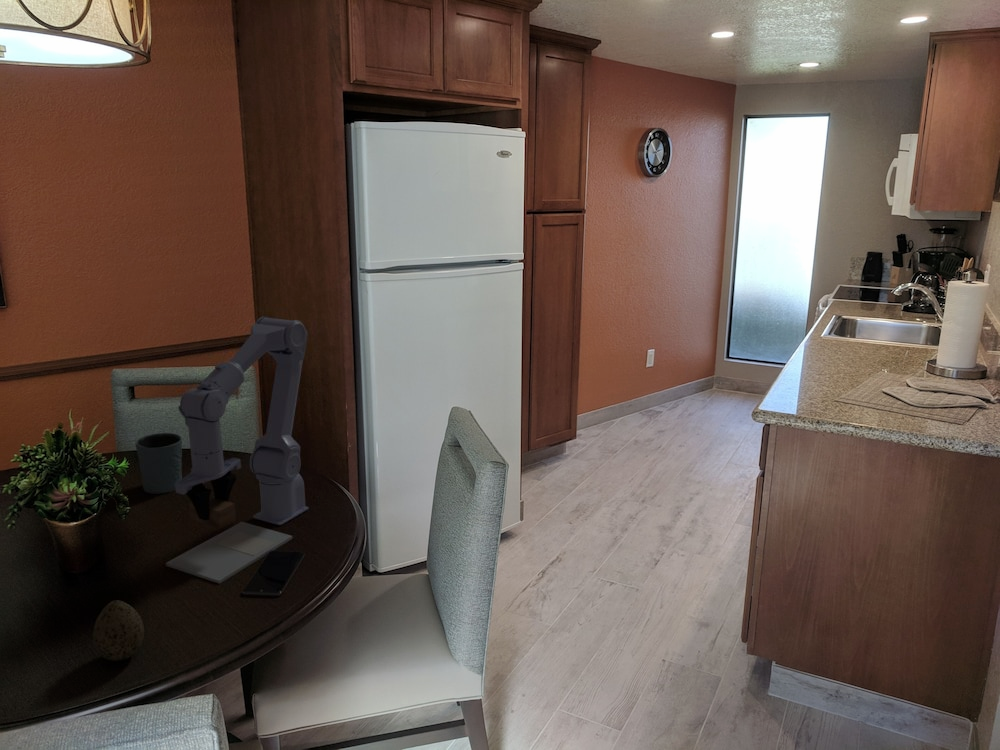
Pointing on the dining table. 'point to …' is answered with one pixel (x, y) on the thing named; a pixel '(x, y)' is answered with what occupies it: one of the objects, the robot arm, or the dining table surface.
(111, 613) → the decorative egg
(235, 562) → the mat
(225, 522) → the brown block
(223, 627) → the dining table surface
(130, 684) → the dining table surface
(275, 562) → the smartphone
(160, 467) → the grey pot
